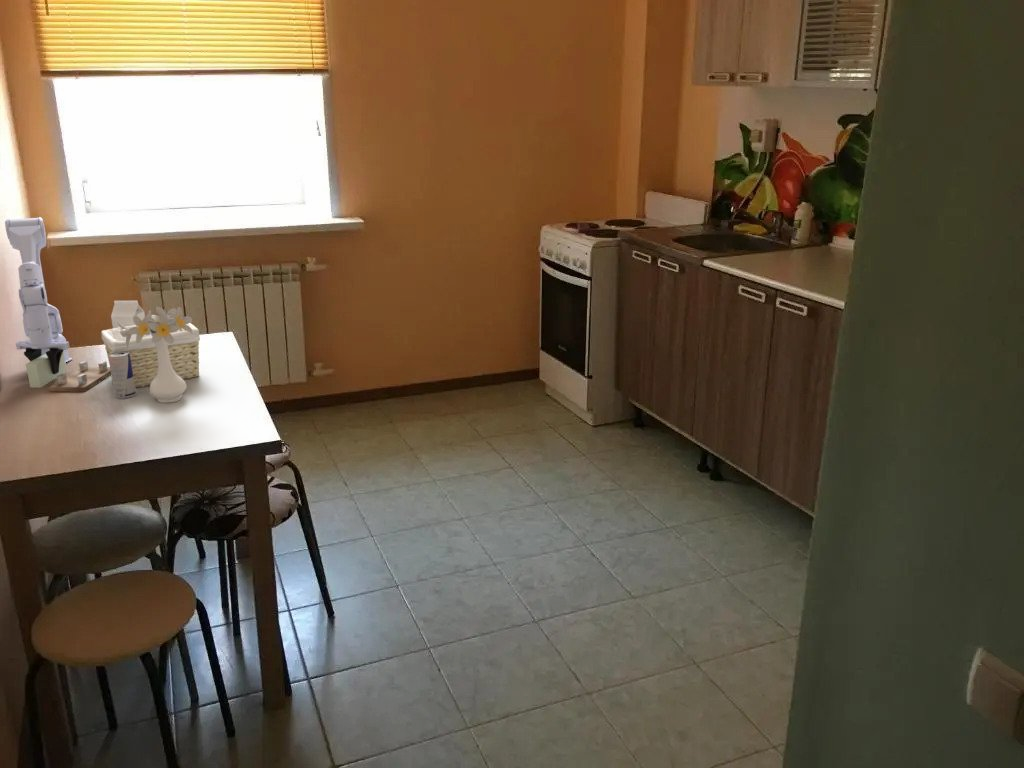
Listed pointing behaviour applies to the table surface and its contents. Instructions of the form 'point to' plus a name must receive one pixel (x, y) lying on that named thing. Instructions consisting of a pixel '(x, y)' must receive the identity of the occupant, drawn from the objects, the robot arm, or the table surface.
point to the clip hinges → (82, 378)
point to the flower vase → (161, 349)
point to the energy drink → (122, 375)
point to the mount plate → (72, 380)
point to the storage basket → (145, 353)
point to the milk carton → (126, 313)
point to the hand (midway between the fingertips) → (48, 372)
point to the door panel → (43, 370)
